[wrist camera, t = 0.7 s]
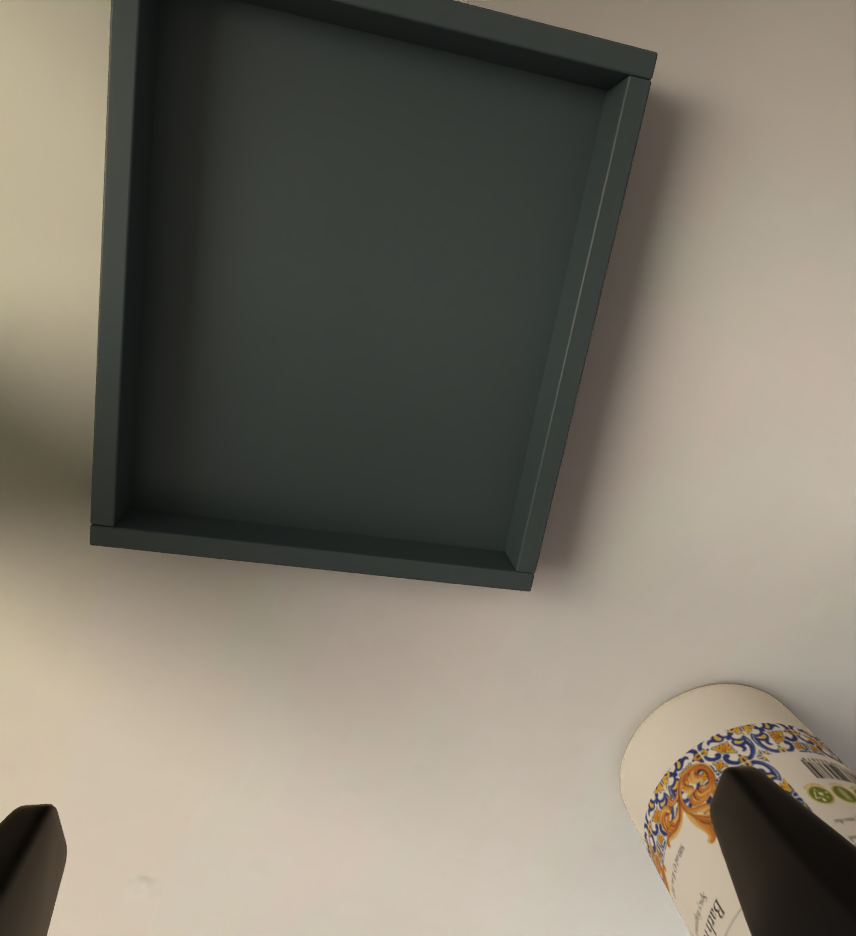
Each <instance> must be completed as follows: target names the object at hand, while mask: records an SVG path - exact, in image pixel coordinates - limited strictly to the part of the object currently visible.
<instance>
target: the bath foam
mask: <svg viewBox="0 0 856 936" xmlns="http://www.w3.org/2000/svg"><path fill="white" fill-rule="evenodd" d="M734 766H752V767H755V768H757V769H759V770H760V771H762V772H763V773H764V774H765V775H767V776H768V777H769V778H770V779H772V780H773V781H774V782H775V783H777V784H778V785H779V786H781V787H782V788H783V789H784V790H786V791H787V792H788V793H789V794H791V795H792V796H793V797H794V798H796V799H797V800H798V801H799V802H801V803H802V804H803V805H804V806H806V807H807V808H808V809H809V810H811V811H812V812H813V813H814V814H816V815H817V816H818V817H819V818H821V819H822V820H823V821H824V822H826V823H827V824H828V825H829V826H831V827H832V828H833V829H834V830H836V831H837V832H838V833H839V834H841V835H842V836H843V837H844V838H846V839H847V840H848V841H849V842H851V843H852V844H853V845H855V846H856V775H855V774H854V773H853V772H852V771H851V770H850V769H849V768H848V767H847V766H846V765H845V764H844V763H843V762H842V761H841V760H840V759H839V758H838V757H837V756H836V755H835V754H834V753H833V752H832V751H831V750H830V749H829V748H828V747H827V746H826V745H825V744H824V743H823V742H821V741H820V740H819V739H818V738H817V737H816V736H815V735H814V734H813V733H812V732H811V731H810V730H809V729H808V728H807V727H806V726H805V725H804V724H803V723H801V722H800V721H799V720H798V719H797V718H796V717H795V716H794V715H793V714H792V713H791V712H790V711H789V710H788V709H787V708H786V707H785V706H784V705H783V704H781V703H780V702H779V701H778V700H776V699H775V698H774V697H772V696H770V695H769V694H767V693H765V692H763V691H760V690H758V689H755V688H752V687H748V686H744V685H737V684H715V685H708V686H703V687H699V688H696V689H693V690H690V691H687V692H685V693H682V694H680V695H678V696H676V697H674V698H672V699H671V700H669V701H667V702H666V703H664V704H663V705H661V706H660V707H659V708H658V709H656V710H655V711H654V712H653V713H652V714H651V715H649V716H648V717H647V718H646V720H645V721H644V722H643V723H642V724H641V725H640V727H639V728H638V729H637V731H636V732H635V733H634V735H633V737H632V738H631V740H630V742H629V744H628V746H627V748H626V751H625V753H624V756H623V760H622V764H621V771H620V788H621V794H622V798H623V801H624V804H625V807H626V809H627V811H628V813H629V815H630V817H631V819H632V821H633V823H634V825H635V827H636V829H637V831H638V833H639V835H640V837H641V839H642V840H643V842H644V844H645V846H646V848H647V850H648V853H649V855H650V857H651V859H652V861H653V863H654V865H655V866H656V868H657V870H658V872H659V874H660V876H661V878H662V880H663V882H664V884H665V886H666V888H667V889H668V891H669V893H670V895H671V897H672V899H673V901H674V903H675V905H676V907H677V909H678V910H679V912H680V914H681V916H682V918H683V920H684V922H685V924H686V926H687V928H688V930H689V931H690V933H691V935H692V936H751V933H750V931H749V928H748V925H747V923H746V920H745V917H744V914H743V911H742V909H741V906H740V903H739V900H738V897H737V894H736V891H735V888H734V885H733V883H732V880H731V877H730V874H729V871H728V868H727V865H726V862H725V860H724V857H723V854H722V851H721V848H720V845H719V842H718V839H717V837H716V834H715V831H714V828H713V825H712V822H711V817H710V803H711V800H712V797H713V795H714V792H715V790H716V787H717V784H718V782H719V779H720V776H721V774H722V772H723V770H724V769H726V768H727V767H734Z"/></svg>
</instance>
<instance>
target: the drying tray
mask: <svg viewBox="0 0 856 936" xmlns="http://www.w3.org/2000/svg"><path fill="white" fill-rule="evenodd" d="M657 55H658V54H657V53H656V52H653V51H649V50H645V49H641V48H637V47H633V46H630V45H626V44H622V43H618V42H614V41H610V40H606V39H602V38H598V37H594V36H591V35H587V34H583V33H579V32H575V31H571V30H567V29H563V28H559V27H555V26H551V25H548V24H544V23H540V22H536V21H532V20H528V19H524V18H520V17H516V16H512V15H509V14H505V13H501V12H497V11H493V10H489V9H485V8H481V7H477V6H473V5H470V4H466V3H462V2H458V1H454V0H111V21H110V46H109V71H108V96H107V121H106V146H105V171H104V196H103V221H102V246H101V271H100V296H99V321H98V346H97V371H96V396H95V421H94V446H93V472H92V497H91V526H90V545H95V546H105V547H114V548H124V549H133V550H143V551H152V552H161V553H171V554H180V555H190V556H199V557H208V558H218V559H227V560H237V561H246V562H256V563H265V564H274V565H284V566H293V567H303V568H312V569H322V570H331V571H340V572H350V573H359V574H369V575H378V576H387V577H397V578H406V579H416V580H425V581H435V582H444V583H453V584H463V585H472V586H482V587H491V588H500V589H510V590H519V591H530V590H531V587H532V583H533V578H534V573H535V570H536V566H537V562H538V558H539V554H540V549H541V545H542V541H543V537H544V532H545V528H546V524H547V520H548V516H549V511H550V507H551V503H552V499H553V494H554V490H555V486H556V482H557V478H558V473H559V469H560V465H561V461H562V457H563V452H564V448H565V444H566V440H567V435H568V431H569V427H570V423H571V419H572V414H573V410H574V406H575V402H576V397H577V393H578V389H579V385H580V381H581V376H582V372H583V368H584V364H585V359H586V355H587V351H588V347H589V343H590V338H591V334H592V330H593V326H594V322H595V317H596V313H597V309H598V305H599V300H600V296H601V292H602V288H603V284H604V279H605V275H606V271H607V267H608V262H609V258H610V254H611V250H612V246H613V241H614V237H615V233H616V229H617V225H618V220H619V216H620V212H621V208H622V203H623V199H624V195H625V191H626V187H627V182H628V178H629V174H630V170H631V165H632V161H633V157H634V153H635V149H636V144H637V140H638V136H639V132H640V128H641V123H642V119H643V115H644V111H645V106H646V102H647V98H648V94H649V90H650V85H651V81H650V80H651V79H652V77H653V72H654V68H655V64H656V60H657Z"/></svg>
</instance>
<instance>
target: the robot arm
mask: <svg viewBox="0 0 856 936" xmlns="http://www.w3.org/2000/svg"><path fill="white" fill-rule="evenodd" d="M710 817H711V822H712V825H713V828H714V831H715V834H716V837H717V839H718V842H719V845H720V848H721V851H722V854H723V857H724V860H725V862H726V865H727V868H728V871H729V874H730V877H731V880H732V883H733V885H734V888H735V891H736V894H737V897H738V900H739V903H740V906H741V909H742V911H743V914H744V917H745V920H746V923H747V925H748V928H749V931H750V933H751V936H856V846H855V845H853V844H852V843H851V842H849V841H848V840H847V839H846V838H844V837H843V836H842V835H841V834H839V833H838V832H837V831H836V830H834V829H833V828H832V827H831V826H829V825H828V824H827V823H826V822H824V821H823V820H822V819H821V818H819V817H818V816H817V815H816V814H814V813H813V812H812V811H811V810H809V809H808V808H807V807H806V806H804V805H803V804H802V803H801V802H799V801H798V800H797V799H796V798H794V797H793V796H792V795H791V794H789V793H788V792H787V791H786V790H784V789H783V788H782V787H781V786H779V785H778V784H777V783H775V782H774V781H773V780H772V779H770V778H769V777H768V776H767V775H765V774H764V773H763V772H762V771H760V770H759V769H757V768H755V767H752V766H734V767H727V768H726V769H724V770H723V772H722V774H721V776H720V779H719V782H718V784H717V787H716V790H715V792H714V795H713V797H712V800H711V803H710ZM66 857H67V845H66V841H65V837H64V833H63V830H62V826H61V823H60V819H59V815H58V812H57V809H56V808H55V807H54V806H53V805H52V804H40V805H24V806H20V807H18V808H17V809H15V810H14V811H12V812H11V813H10V814H9V815H8V816H7V817H6V818H5V819H4V820H3V821H2V822H1V823H0V936H47V933H48V929H49V925H50V921H51V917H52V914H53V910H54V906H55V902H56V898H57V894H58V891H59V887H60V883H61V879H62V875H63V871H64V868H65V863H66Z"/></svg>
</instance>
